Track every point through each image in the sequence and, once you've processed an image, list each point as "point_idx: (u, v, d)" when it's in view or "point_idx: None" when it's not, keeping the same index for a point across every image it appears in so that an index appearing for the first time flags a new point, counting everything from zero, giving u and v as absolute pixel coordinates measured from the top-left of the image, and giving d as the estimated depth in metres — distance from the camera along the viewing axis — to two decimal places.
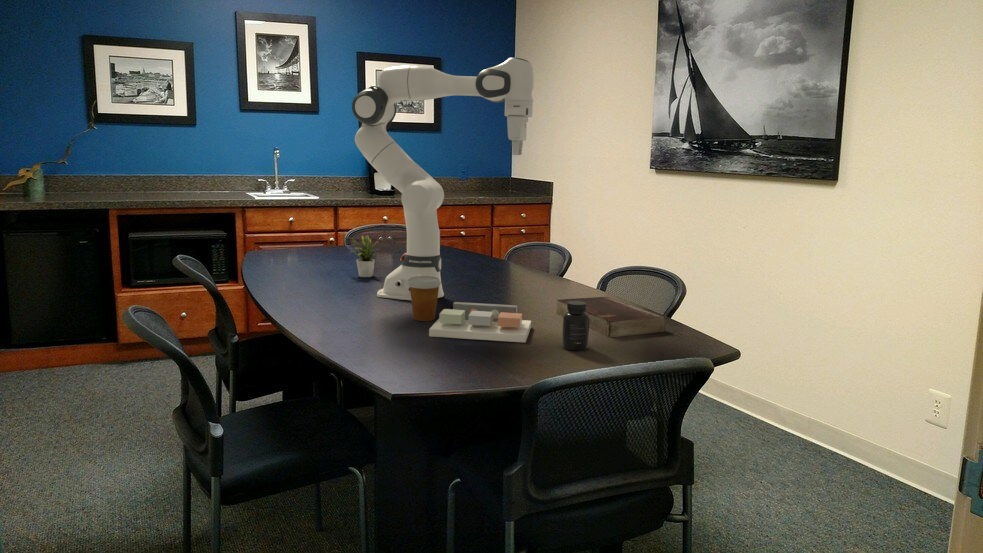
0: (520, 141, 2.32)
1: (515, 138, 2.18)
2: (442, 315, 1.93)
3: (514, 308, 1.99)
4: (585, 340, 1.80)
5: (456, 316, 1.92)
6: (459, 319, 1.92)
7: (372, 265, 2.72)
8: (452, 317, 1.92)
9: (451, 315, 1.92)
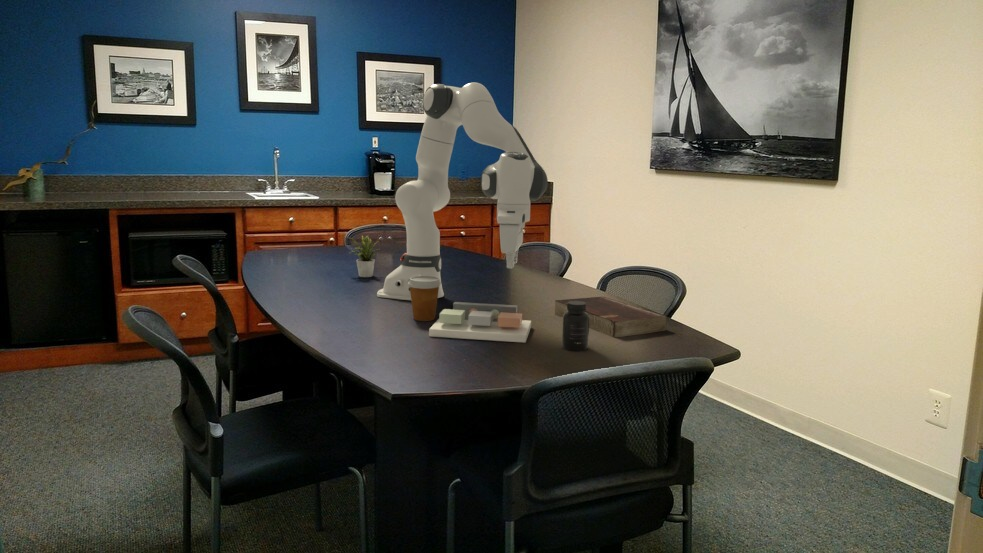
0: None
1: (509, 252, 1.80)
2: (442, 315, 1.93)
3: (514, 308, 1.99)
4: (585, 340, 1.80)
5: (456, 316, 1.92)
6: (459, 319, 1.92)
7: (372, 265, 2.72)
8: (452, 317, 1.92)
9: (451, 315, 1.92)
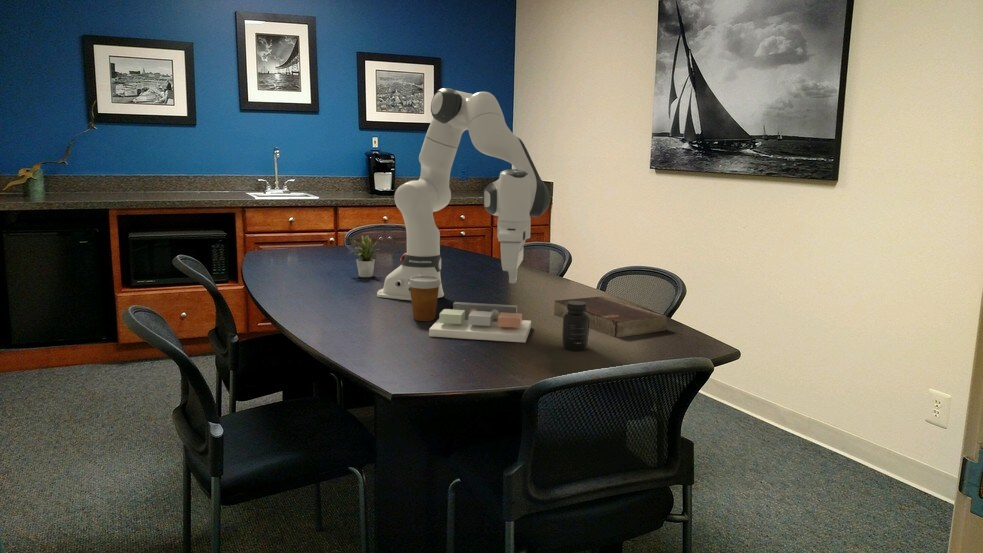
0: None
1: (510, 269, 1.81)
2: (442, 315, 1.93)
3: (514, 308, 1.99)
4: (585, 340, 1.80)
5: (456, 316, 1.92)
6: (459, 319, 1.92)
7: (372, 265, 2.72)
8: (452, 317, 1.92)
9: (451, 315, 1.92)
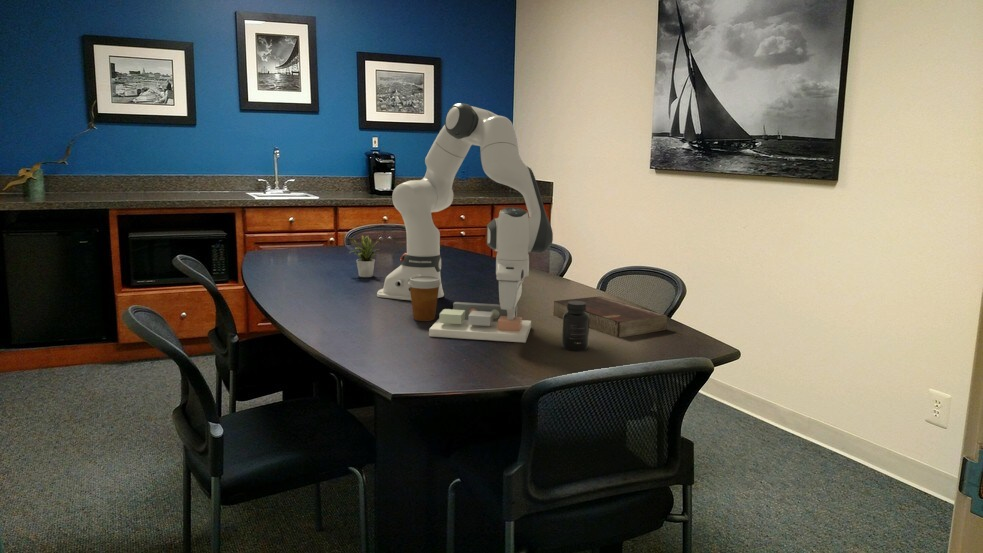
0: None
1: (508, 308, 1.83)
2: (442, 315, 1.93)
3: None
4: (585, 340, 1.80)
5: (456, 316, 1.92)
6: (459, 319, 1.92)
7: (372, 265, 2.72)
8: (452, 317, 1.92)
9: (451, 315, 1.92)
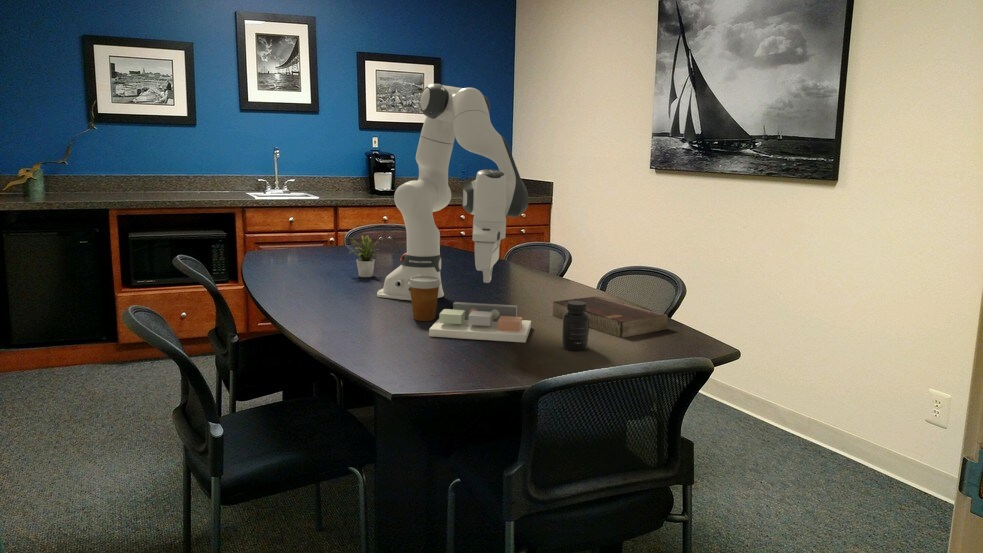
0: None
1: (484, 269, 1.82)
2: (442, 315, 1.93)
3: (514, 308, 1.99)
4: (585, 340, 1.80)
5: (456, 316, 1.92)
6: (459, 319, 1.92)
7: (372, 265, 2.72)
8: (452, 317, 1.92)
9: (451, 315, 1.92)
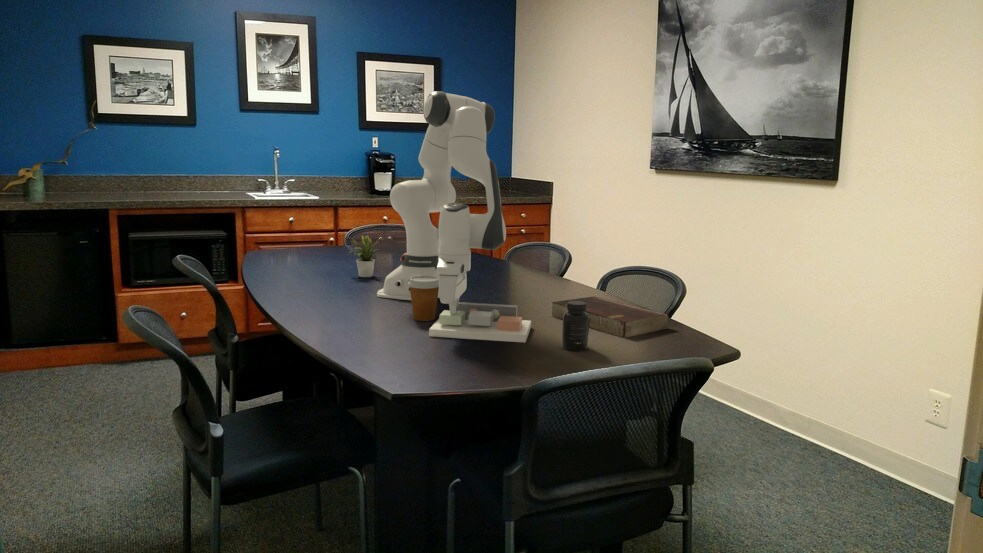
0: None
1: (448, 302, 1.85)
2: (442, 316, 1.93)
3: (514, 308, 1.99)
4: (585, 340, 1.80)
5: (456, 318, 1.92)
6: (459, 320, 1.92)
7: (372, 265, 2.72)
8: (452, 318, 1.93)
9: (451, 316, 1.92)
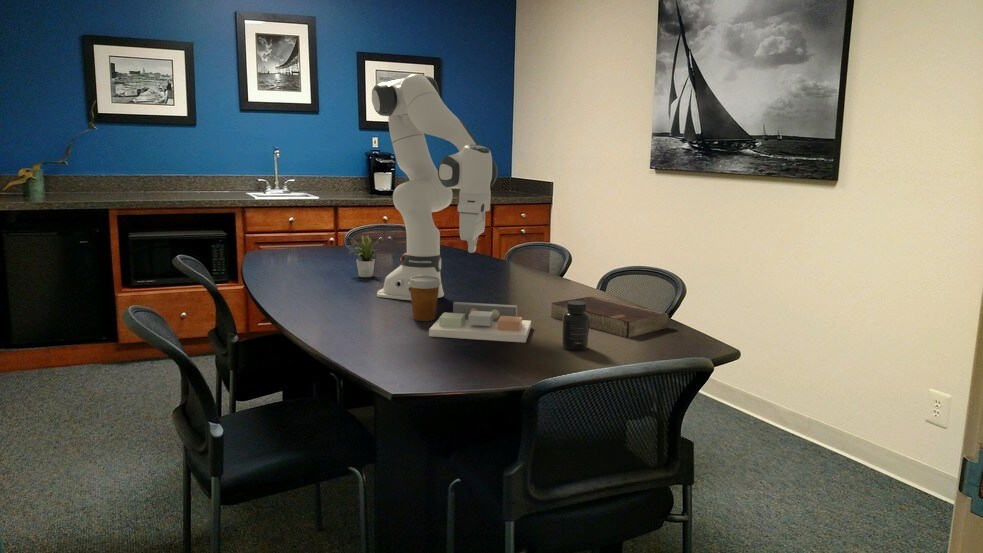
0: None
1: (467, 239, 1.92)
2: (442, 319, 1.93)
3: (514, 308, 1.99)
4: (585, 340, 1.80)
5: (456, 320, 1.92)
6: (459, 323, 1.92)
7: (372, 265, 2.72)
8: (452, 321, 1.93)
9: (451, 319, 1.93)
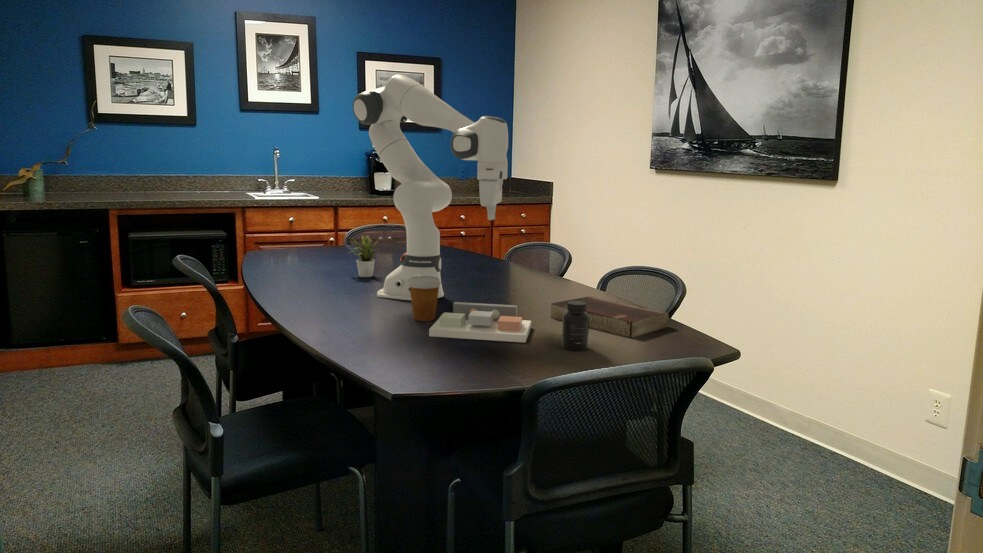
0: None
1: (488, 205, 2.00)
2: (442, 319, 1.93)
3: (514, 308, 1.99)
4: (585, 340, 1.80)
5: (456, 320, 1.92)
6: (459, 323, 1.92)
7: (372, 265, 2.72)
8: (452, 321, 1.93)
9: (451, 319, 1.93)
